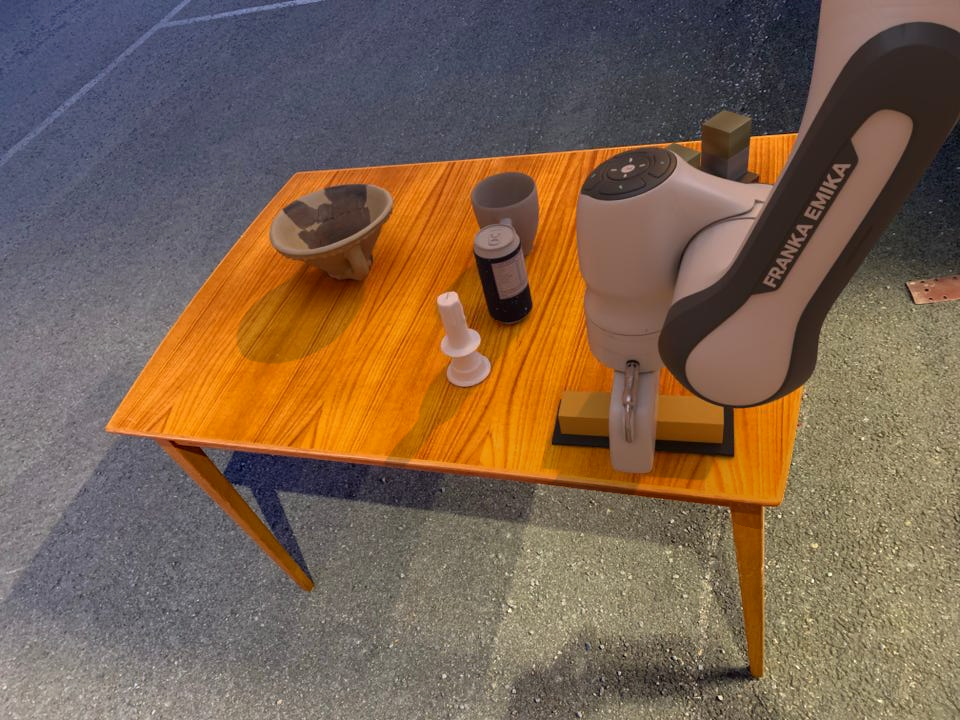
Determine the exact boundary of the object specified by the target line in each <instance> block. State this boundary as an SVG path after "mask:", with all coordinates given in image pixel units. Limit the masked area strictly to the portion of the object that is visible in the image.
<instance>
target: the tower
mask: <svg viewBox="0 0 960 720" xmlns="http://www.w3.org/2000/svg"><path fill="white" fill-rule="evenodd" d="M752 123H753V118H752V117H750V116H746V115H743V114H739V113H736V112H733V111H730V110H726V109H723V110H722V111H719V112H718V113H717V114H715V115H714V116H712V117H710V118H709V119H707V120H706V121H704V122H702V123H701V139H700V141H701V144H700V145H701V146H700V151H699V150H696V149H694V148H690V147H687V146H684V145H682V144H679V143H677V142H672V143H670V144H668V145H667V146H666V147H663V148H664V149H668V150H670V151H673V152H674V153H676V154H677V155H679V156H680V157H681V158H682V159H683V160H685V161H686V162H687V163H688V164H689V165H691V166H692V167H694V168H696V169H698V170H700V171H702V172H705V173H707V174H710V175H713V176H716V177H719V178H723V179H726V180H731V181H735V182H739V183H751V182H760V176H761V175H760V174H758V173H755V172H753V171H749V161H750V150H751V137H752V136H751V135H752V125H753V124H752Z"/></svg>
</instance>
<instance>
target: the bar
mask: <svg viewBox="0 0 960 720" xmlns="http://www.w3.org/2000/svg"><path fill="white" fill-rule="evenodd" d="M560 399H561V404H560V409H559V415H558V417H559V423H560V428H561V433H562V434H574V435H590V436H607V437H609V406H610V399H611V392H608V391H605V392H604V391H579V390H562V395H561V398H560ZM723 427H724V407H721V406H717V405H714V404H711V403H709V402H706V401H704V400H702V399H700V398H698V397H697V396H695V395H680V394H679V395H678V394H677V395H676V394H659V398H658V411H657V424H656V437H655V439H656V440H673V441H689V442H705V443H722V440H723Z"/></svg>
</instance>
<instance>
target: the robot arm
mask: <svg viewBox="0 0 960 720" xmlns="http://www.w3.org/2000/svg"><path fill="white" fill-rule="evenodd" d="M816 37H817V39H816V45H815V54H814V61H813V68H812V75H811V81H810V84H809V85H810V86H809V90H808V94H807V99H806V105H805V108H804V112H803V116H802V120H801V123H800V126H799V130H798V132H797V136H796V138H795V141H794V143H793V146H792V149H791V150H790V153H789V155H788V156H787V160H786V161H785V164H784V166H783V167H782V169H781V171H780V172H779V175H778V177H777V178H776V180H775V182H774V183H768V182H760V181H759V182H751V183H739V182H735V181H731V180H726V179H723V178H719V177H716V176H713V175H710V174H707V173H705V172H702V171H700V170H698V169H696V168H694V167H692V166H691V165H689V164H688V163H687V162H686V161H685V160H683V159H682V158H681V157H680V156H679V155H677V154H676V153H674V152H673V151H670V150H668V149H664V148H665V147H657V146H645V147H637V148H631V149H627V150H624V151H622V152H621V151H620V152H619V153H617V154H614V155H613V156H611V157H609V158H608V159H606V160H604V161H602V162H601V163H600V164H598V165H597V166H596V167H595V168H594V169H593V170H592V171H591V172H590V173H589V174H588V175H587V176H586V179H585V180H584V182H583V183H582V185H581V187H580V190H579V193H578V195H577V196H578V197H577V200H576V201H577V202H576V211H575V216H576V217H575V230H576V231H575V233H576V248H577V249H576V250H577V259H578V260H577V261H578V267H579V272H580V274H581V277H582V279H583V281H584V283H585V290H584V295H583V309H584V317H585V325H586V334H587V343H588V346H589V351H590V352H591V353H592V354H591V355H593V357H594V358H595V359H596V360H597V361H598V362H600V363H601V364H602V365H604V366H605V367H607V368H608V369H611V370H613V376H612V377H613V378H612V383H611V384H612V386H611V391H610V393H611V399H610V406H609V441H610V448H609V455H610V465H611V467H612V469H613V470H615V471H617V472H621V473H629V474H646V473H649V472H651V471H652V469H653V467H654V462H655V461H654V460H655V451H654V450H655V437H656V424H657V411H658V398H659V395H660V383H661V370H662V369H664V368H666V369H667V370H668V372H669V373H670V374H671V375H672V377H674V379H675V380H676V381H677V382H678V383H679V384H680V385H681V386H682V387H683V388H684V389H686V390H687V391H688V392H689V393H690V394H692V395H693V396H697V397H698V398H700V399H702V400H704V401H706V402H709V403H711V404H714V405H717V406H721V407H726V408H734V409H736V410H737V409H749V408H750V409H751V408H755V407H760V406H764V405H768V404H770V403H774V402H776V401H778V400H781V399H782V398H784V397H786V396H788V395H790V394H792V393H793V392H795V391H797V390H798V389H800V388H801V387H802V386H804V385H805V384H806V383H807V382H808V381H809V380H810V378H811V377H812V375H813V373H814V372H815V370H816V366H817V362H818V354H819V344H820V343H819V342H820V336H821V331H822V329H823V325H824V322H825V320H826V318H827V316H828V314H829V312H830V311H831V309H832V307H833V306H834V304H836V301H837V300H838V299H839V297H840V296H841V294H842V293H843V291H844V290H845V288H846V287H847V286H848V284H849V283H850V281H851V280H852V278H853V277H854V276H855V274H856V273H857V271H858V270H859V268H860V267H861V266H862V264H863V263H864V262H865V260H866V258H867V257H868V256H869V254H870V253H871V252H872V250H873V248H874V247H875V245H876V244H877V243H878V241H879V240H880V239H881V237H882V236H883V235H884V233H885V232H886V230H887V228H888V227H889V226H890V224H891V222H892V221H893V220H894V218H895V217H896V216H897V214H898V213H899V211H900V210H901V208H902V207H903V206H904V204H905V203H906V201H907V200H908V198H909V197H910V195H912V192H913V191H914V190H915V188H916V187H917V186H918V184H919V182H920V181H921V179H922V178H923V176H924V175H925V173H926V172H927V170H928V169H929V167H930V166H931V164H932V163H933V161H934V160H935V158H936V156H937V155H938V153H939V151H940V150H941V148H942V147H943V145H944V143H945V142H946V140H947V139H948V137H949V136H950V134H951V133H952V131H953V130H954V128H955V127H956V125H957V124H958V123H959V121H960V0H821V4H820V12H819V21H818V30H817V36H816Z"/></svg>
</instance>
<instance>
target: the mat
mask: <svg viewBox="0 0 960 720" xmlns="http://www.w3.org/2000/svg"><path fill="white" fill-rule="evenodd" d="M561 399H562V398H560V399H559V402H558V408H557V413H556V417H555V422H554V428H553V433H552V439H551V445H553V446H568V447H584V448H596V449H597V448H598V449H610V441H609V437H607V436H590V435H574V434H562V433H561V428H560V423H559V417H558V415H559V409H560V404H561ZM654 452H656V453H657V452H659V453H673V454H686V455H687V454H688V455H703V456H718V457H719V456H721V457H731V458H734V457H735V455H736V453H735V408H726V407H724V427H723V440H722V443H705V442H689V441H673V440H656V439H655V450H654Z"/></svg>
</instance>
